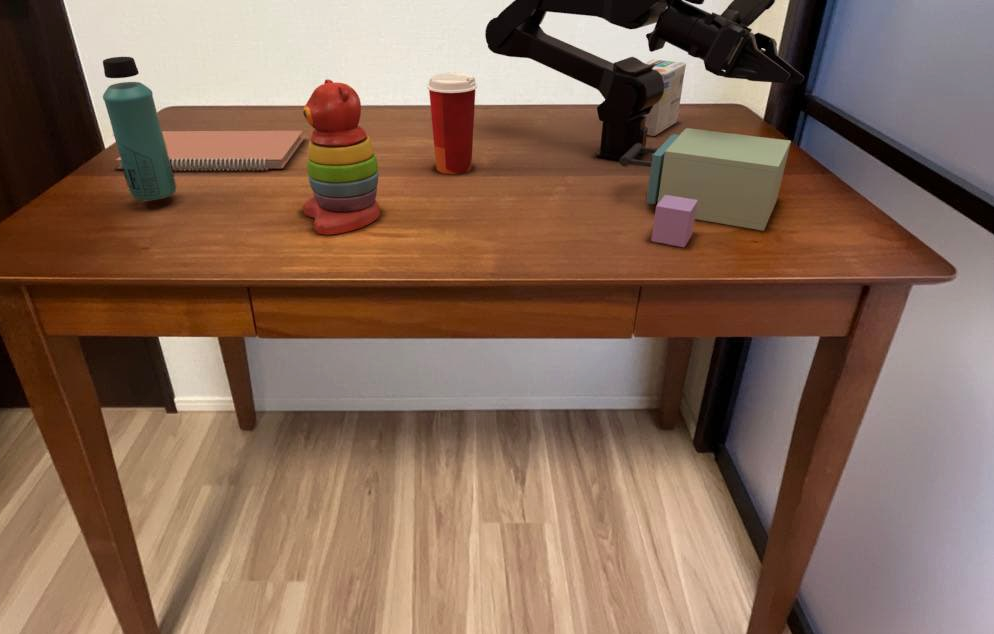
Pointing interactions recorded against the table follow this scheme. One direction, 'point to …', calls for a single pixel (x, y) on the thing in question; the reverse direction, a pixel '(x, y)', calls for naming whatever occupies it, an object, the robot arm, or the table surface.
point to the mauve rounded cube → (674, 220)
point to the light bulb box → (666, 96)
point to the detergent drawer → (650, 165)
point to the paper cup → (452, 120)
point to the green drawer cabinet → (726, 175)
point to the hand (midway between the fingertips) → (795, 79)
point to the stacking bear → (339, 162)
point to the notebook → (229, 149)
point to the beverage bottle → (137, 133)
